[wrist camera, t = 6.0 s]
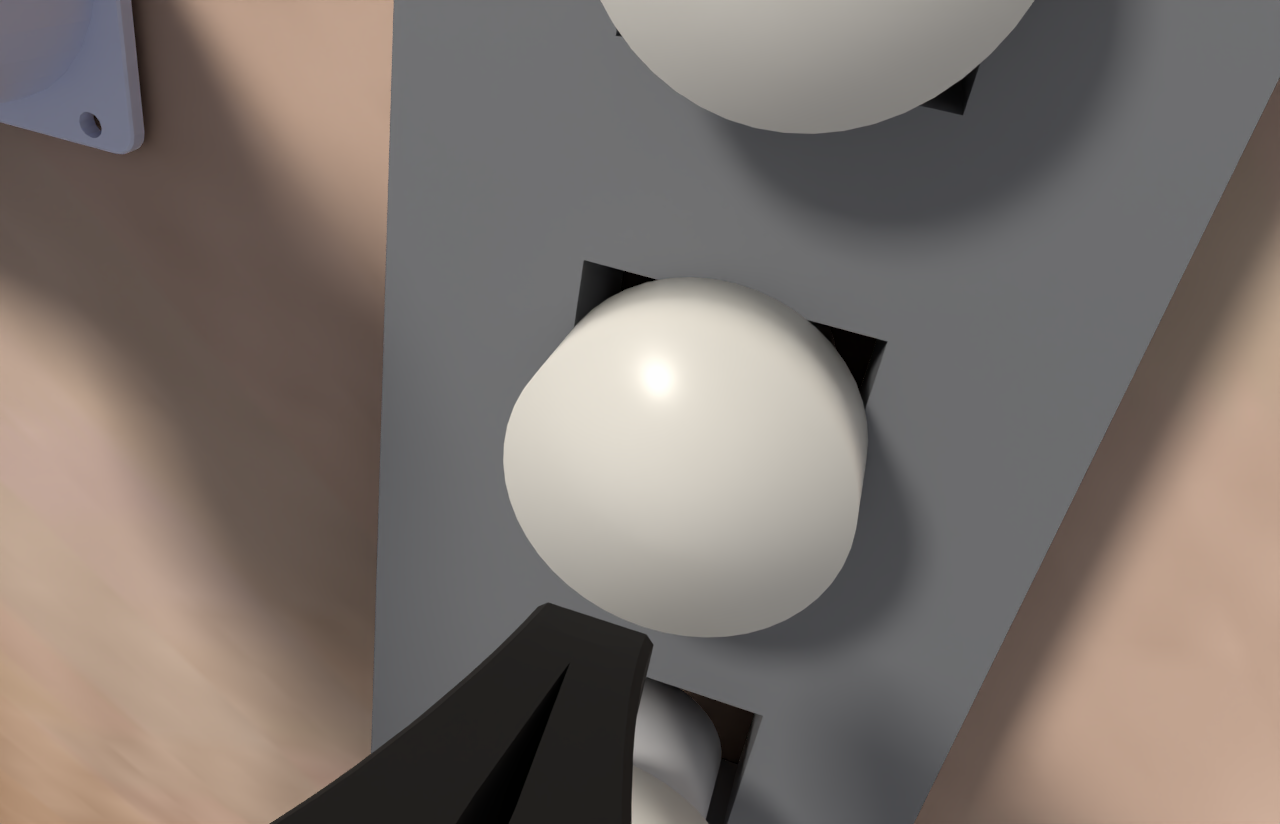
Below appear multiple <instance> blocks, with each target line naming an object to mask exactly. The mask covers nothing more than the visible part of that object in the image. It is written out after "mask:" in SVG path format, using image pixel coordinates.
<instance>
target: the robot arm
mask: <svg viewBox="0 0 1280 824" xmlns="http://www.w3.org/2000/svg"><path fill="white" fill-rule="evenodd" d="M94 115H95V116H96V118H97V119H98V120H99V121H100V124H101V127H102V130H100V129H99V128H98V127H97V126H96V124H95V121H94ZM0 122H1V123H4V124H8V125H12V126H15V127H19V128H23V129H26V130H30V131H34V132H37V133H41V134H45V135H48V136H52V137H56V138H59V139H63V140H67V141H71V142H74V143H78V144H82V145H85V146H89V147H93V148H96V149H100V150H104V151H107V152H111V153H115V154H126V153H129V152H132V151H134V150H136V149H138V148H140V147H141V145H142V143H143V142H144V133H145V132H144V123H143V113H142V103H141V93H140V83H139V73H138V63H137V53H136V43H135V33H134V23H133V13H132V4H131V0H0ZM653 646H654V645H653V643H652V642H651V640H650V639H649V637H648V636H647V634H644V633H641V632H638V631H635V630H632V629H629V628H626V627H622V626H619V625H616V624H613V623H610V622H607V621H604V620H601V619H598V618H595V617H592V616H589V615H586V614H582V613H579V612H576V611H573V610H570V609H567V608H564V607H561V606H558V605H555V604H552V603H549V602H548V603H545V604H543V605H540V606H538V607H537V608H536V609H535V610H534V611H533V612H532V613H531V615H530V616H529V617H528V618H527V619H526V620H525V621H524V622H523V623H522V624H521V625H520V626H519V627H518V628H517V629H516V630H515V631H514V632H513V633H512V634H511V635H510V636H509V637H508V638H507V639H506V640H505V641H504V642H503V643H502V644H501V645H500V646H499V647H498V648H497V649H496V650H495V651H494V652H493V653H492V654H490V655H489V656H488V657H487V658H486V659H485V660H484V661H483V662H482V663H481V664H480V665H478V666H477V667H476V668H475V669H474V670H473V671H472V672H471V673H470V674H469V675H468V676H466V677H465V678H464V679H463V680H462V681H461V682H459V683H458V684H457V685H456V686H455V687H454V688H452V689H451V690H450V691H449V692H448V693H447V694H445V695H444V696H443V697H442V698H441V699H439V700H438V701H437V702H436V703H435V704H434V705H432V706H431V707H430V708H429V709H428V710H427V711H425V712H424V713H423V714H422V715H421V716H419V717H418V718H417V719H416V720H414V721H413V722H412V723H411V724H409V725H408V726H407V727H406V728H404V729H403V730H402V731H400V732H399V733H398V734H396V735H395V736H394V737H393V738H391V739H390V740H389V741H387V742H386V743H385V744H383V745H382V746H381V747H379V748H378V749H377V750H375V751H374V752H373V753H372V754H370V755H369V756H368V757H366V758H365V759H364V760H362V761H361V762H360V763H358V764H357V765H356V766H354V767H353V768H352V769H350V770H349V771H347V772H346V773H345V774H343V775H342V776H340V777H339V778H338V779H336V780H335V781H333V782H332V783H330V784H329V785H328V786H326V787H325V788H323V789H322V790H320V791H319V792H317V793H316V794H314V795H313V796H311V797H310V798H308V799H307V800H305V801H304V802H302V803H301V804H299V805H298V806H296V807H295V808H293V809H292V810H290V811H288V812H287V813H285V814H284V815H282V816H281V817H279V818H278V819H276V820H275V821H273V822H271V823H270V824H632V777H633V751H634V738H635V728H636V719H637V714H638V710H639V705H640V701H641V697H642V693H643V688H644V684H645V680H646V676H647V671H648V667H649V663H650V659H651V654H652V650H653Z"/></svg>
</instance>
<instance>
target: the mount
mask: <svg viewBox="0 0 1280 824" xmlns="http://www.w3.org/2000/svg"><path fill="white" fill-rule="evenodd" d="M1279 78H1280V0H1034V2H1033V3H1032V5H1031V6H1030V7H1029V9H1028V10H1027V12H1026V13H1025V14H1024V16H1023V17H1022V18H1021V20H1020V21H1019V23H1018V24H1017V25H1016V27H1015V28H1014V29H1013V30H1012V31H1011V32H1010V33H1009V35H1008V36H1007V37H1006V38H1005V39H1004V40H1003V41H1002V42H1001V43H1000V44H999V45H998V47H997V48H996V49H995V50H994V51H993V52H992V53H991V54H990V55H989V56H988V57H987V58H986V59H985V60H983V61H982V62H981V63H980V64H979V65H978V66H976V67H975V68H974V69H973V70H972V71H971V72H970V73H968V74H967V75H966V76H965V77H964V78H963V79H961V80H960V81H958V82H957V83H955V84H954V85H952V86H951V87H949V88H948V89H946V90H945V91H943V92H942V93H940V94H939V95H938V96H936V97H935V98H933V99H931V100H929V101H927V102H925V103H923V104H921V105H919V106H917V107H915V108H913V109H911V110H909V111H907V112H906V113H903V114H900V115H898V116H895V117H892V118H889V119H887V120H884V121H881V122H879V123H876V124H872V125H868V126H864V127H859V128H855V129H850V130H846V131H838V132H828V133H818V134H802V133H782V132H776V131H770V130H764V129H758V128H753V127H750V126H747V125H744V124H741V123H737V122H734V121H731V120H728V119H725V118H723V117H721V116H719V115H717V114H714V113H712V112H710V111H708V110H706V109H704V108H702V107H700V106H698V105H697V104H695V103H693V102H692V101H690V100H689V99H687V98H686V97H684V96H682V95H681V94H679V93H678V92H676V91H675V90H674V89H672V88H671V87H670V86H669V85H668V84H666V83H665V82H664V81H663V80H662V79H660V78H659V77H658V76H657V75H656V74H654V73H653V72H652V71H651V70H650V69H649V68H648V67H647V65H646V64H645V63H644V62H643V61H642V60H641V59H640V58H639V57H638V56H637V55H636V54H635V52H634V51H633V50H632V49H631V48H630V46H629V45H628V44H627V42H626V41H625V39H624V38H623V37H622V35H621V34H620V33H619V31H618V30H617V28H616V27H615V26H614V24H613V22H612V20H611V19H610V17H609V15H608V13H607V11H606V10H605V8H604V6H603V4H602V2H601V1H600V0H394V13H393V46H392V79H391V112H390V146H389V179H388V212H387V245H386V279H385V312H384V345H383V378H382V412H381V445H380V478H379V511H378V545H377V578H376V611H375V644H374V678H373V711H372V744H371V754H372V753H373V752H374V751H375V750H377V749H378V748H379V747H381V746H382V745H383V744H385V743H386V742H387V741H389V740H390V739H391V738H393V737H394V736H395V735H396V734H398V733H399V732H400V731H402V730H403V729H404V728H406V727H407V726H408V725H409V724H411V723H412V722H413V721H414V720H416V719H417V718H418V717H419V716H421V715H422V714H423V713H424V712H425V711H427V710H428V709H429V708H430V707H431V706H432V705H434V704H435V703H436V702H437V701H438V700H439V699H441V698H442V697H443V696H444V695H445V694H447V693H448V692H449V691H450V690H451V689H452V688H454V687H455V686H456V685H457V684H458V683H459V682H461V681H462V680H463V679H464V678H465V677H466V676H468V675H469V674H470V673H471V672H472V671H473V670H474V669H475V668H476V667H477V666H478V665H480V664H481V663H482V662H483V661H484V660H485V659H486V658H487V657H488V656H489V655H490V654H492V653H493V652H494V651H495V650H496V649H497V648H498V647H499V646H500V645H501V644H502V643H503V642H504V641H505V640H506V639H507V638H508V637H509V636H510V635H511V634H512V633H513V632H514V631H515V630H516V629H517V628H518V627H519V626H520V625H521V624H522V623H523V622H524V621H525V620H526V619H527V618H528V617H529V616H530V615H531V613H532V612H533V611H534V610H535V609H536V608H537V607H538V606H540V605H543V604H545V603H548V602H549V603H552V604H555V605H558V606H561V607H564V608H567V609H570V610H573V611H576V612H579V613H582V614H586V615H589V616H592V617H595V618H598V619H601V620H604V621H607V622H610V623H613V624H616V625H619V626H622V627H626V628H629V629H632V630H635V631H638V632H641V633H644V634H647V636H648V637H649V639H650V640H651V642H652V643H653V645H654V646H653V650H652V654H651V659H650V663H649V667H648V671H647V676H646V677H648V678H651V679H654V680H657V681H660V682H663V683H666V684H669V685H672V686H675V687H678V688H681V689H684V690H687V691H690V692H693V693H696V694H699V695H702V696H705V697H708V698H711V699H714V700H717V701H720V702H723V703H726V704H729V705H732V706H735V707H738V708H741V709H744V710H747V711H750V712H753V713H754V716H753V719H752V722H751V726H750V729H749V732H748V735H747V738H746V741H745V744H744V747H743V750H742V753H741V756H740V759H739V762H738V764H735V763H732V762H729V761H726V760H723V759H721V762H720V767H719V771H718V775H717V778H716V782H715V786H714V790H713V794H712V797H711V801H710V805H709V809H708V813H707V816H706V821H707V822H708V823H709V824H914V822H915V820H916V818H917V816H918V814H919V812H920V810H921V808H922V806H923V804H924V802H925V800H926V798H927V796H928V793H929V791H930V789H931V787H932V785H933V783H934V781H935V779H936V777H937V775H938V773H939V771H940V769H941V767H942V765H943V763H944V761H945V759H946V757H947V755H948V753H949V751H950V749H951V747H952V745H953V743H954V740H955V738H956V736H957V734H958V732H959V730H960V728H961V726H962V724H963V722H964V720H965V718H966V716H967V714H968V712H969V710H970V708H971V706H972V704H973V702H974V700H975V698H976V696H977V694H978V692H979V690H980V687H981V685H982V683H983V681H984V679H985V677H986V675H987V673H988V671H989V669H990V667H991V665H992V663H993V661H994V659H995V657H996V655H997V653H998V651H999V649H1000V647H1001V645H1002V643H1003V641H1004V639H1005V637H1006V634H1007V632H1008V630H1009V628H1010V626H1011V624H1012V622H1013V620H1014V618H1015V616H1016V614H1017V612H1018V610H1019V608H1020V606H1021V604H1022V602H1023V600H1024V598H1025V596H1026V594H1027V592H1028V590H1029V588H1030V586H1031V584H1032V581H1033V579H1034V577H1035V575H1036V573H1037V571H1038V569H1039V567H1040V565H1041V563H1042V561H1043V559H1044V557H1045V555H1046V553H1047V551H1048V549H1049V547H1050V545H1051V543H1052V541H1053V539H1054V537H1055V535H1056V533H1057V530H1058V528H1059V526H1060V524H1061V522H1062V520H1063V518H1064V516H1065V514H1066V512H1067V510H1068V508H1069V506H1070V504H1071V502H1072V500H1073V498H1074V496H1075V494H1076V492H1077V490H1078V488H1079V486H1080V484H1081V482H1082V480H1083V477H1084V475H1085V473H1086V471H1087V469H1088V467H1089V465H1090V463H1091V461H1092V459H1093V457H1094V455H1095V453H1096V451H1097V449H1098V447H1099V445H1100V443H1101V441H1102V439H1103V437H1104V435H1105V433H1106V431H1107V429H1108V427H1109V424H1110V422H1111V420H1112V418H1113V416H1114V414H1115V412H1116V410H1117V408H1118V406H1119V404H1120V402H1121V400H1122V398H1123V396H1124V394H1125V392H1126V390H1127V388H1128V386H1129V384H1130V382H1131V380H1132V378H1133V376H1134V374H1135V371H1136V369H1137V367H1138V365H1139V363H1140V361H1141V359H1142V357H1143V355H1144V353H1145V351H1146V349H1147V347H1148V345H1149V343H1150V341H1151V339H1152V337H1153V335H1154V333H1155V331H1156V329H1157V327H1158V325H1159V323H1160V321H1161V318H1162V316H1163V314H1164V312H1165V310H1166V308H1167V306H1168V304H1169V302H1170V300H1171V298H1172V296H1173V294H1174V292H1175V290H1176V288H1177V286H1178V284H1179V282H1180V280H1181V278H1182V276H1183V274H1184V272H1185V270H1186V267H1187V265H1188V263H1189V261H1190V259H1191V257H1192V255H1193V253H1194V251H1195V249H1196V247H1197V245H1198V243H1199V241H1200V239H1201V237H1202V235H1203V233H1204V231H1205V229H1206V227H1207V225H1208V223H1209V221H1210V219H1211V217H1212V214H1213V212H1214V210H1215V208H1216V206H1217V204H1218V202H1219V200H1220V198H1221V196H1222V194H1223V192H1224V190H1225V188H1226V186H1227V184H1228V182H1229V180H1230V178H1231V176H1232V174H1233V172H1234V170H1235V168H1236V166H1237V164H1238V161H1239V159H1240V157H1241V155H1242V153H1243V151H1244V149H1245V147H1246V145H1247V143H1248V141H1249V139H1250V137H1251V135H1252V133H1253V131H1254V129H1255V127H1256V125H1257V123H1258V121H1259V119H1260V117H1261V115H1262V113H1263V111H1264V108H1265V106H1266V104H1267V102H1268V100H1269V98H1270V96H1271V94H1272V92H1273V90H1274V88H1275V86H1276V84H1277V82H1278V80H1279ZM624 271H627V272H631V273H634V274H638V275H642V276H646V277H649V278H653V279H657V280H662V279H667V278H684V277H695V278H708V279H716V280H721V281H726V282H731V283H736V284H739V285H742V286H745V287H748V288H751V289H754V290H757V291H759V292H761V293H763V294H766V295H768V296H770V297H772V298H774V299H776V300H778V301H780V302H782V303H783V304H785V305H786V306H788V307H790V308H791V309H793V310H794V311H796V312H797V313H799V314H800V315H801V316H803V317H804V318H805V319H806V320H809V321H813V322H817V323H821V324H824V325H828V326H832V327H836V328H839V329H843V330H847V331H850V332H854V333H858V334H862V335H865V336H869V337H873V338H876V341H875V345H874V348H873V351H872V354H871V357H870V360H869V363H868V366H867V369H866V372H865V375H864V378H863V381H862V385H861V388H860V391H859V392H860V395H861V398H862V400H863V404H864V409H865V414H866V419H867V428H868V449H867V459H866V466H865V473H864V480H863V486H862V493H861V500H860V506H859V513H858V520H857V526H856V531H855V535H854V539H853V543H852V546H851V550H850V552H849V554H848V556H847V558H846V561H845V563H844V565H843V567H842V569H841V570H840V572H839V573H838V575H837V576H836V578H835V579H834V581H833V582H832V584H831V585H830V586H829V587H828V588H827V589H826V590H825V591H824V592H823V593H822V594H821V596H820V597H819V598H817V599H816V600H815V601H814V602H812V603H811V604H810V605H809V606H808V607H806V608H805V609H804V610H802V611H801V612H799V613H797V614H795V615H794V616H792V617H790V618H789V619H787V620H785V621H783V622H780V623H778V624H776V625H773V626H771V627H768V628H765V629H762V630H758V631H755V632H751V633H747V634H741V635H734V636H728V637H691V636H681V635H675V634H669V633H664V632H660V631H656V630H653V629H649V628H645V627H642V626H639V625H637V624H634V623H631V622H629V621H626V620H624V619H621V618H619V617H617V616H615V615H613V614H611V613H609V612H607V611H605V610H603V609H602V608H600V607H598V606H597V605H595V604H594V603H592V602H590V601H589V600H587V599H585V598H584V597H583V596H581V595H580V594H579V593H578V592H576V591H575V590H574V589H572V588H571V587H570V586H568V585H567V584H566V583H565V582H564V581H563V580H562V579H561V578H560V577H559V576H558V575H557V574H556V573H554V572H553V571H552V569H551V568H550V567H549V566H548V565H547V564H546V563H545V561H544V560H543V559H542V558H541V557H540V556H539V554H538V553H537V552H536V550H535V549H534V547H533V546H532V544H531V543H530V541H529V540H528V538H527V537H526V535H525V533H524V531H523V529H522V528H521V526H520V524H519V522H518V520H517V518H516V515H515V512H514V510H513V507H512V505H511V502H510V499H509V495H508V491H507V487H506V483H505V474H504V465H503V455H504V440H505V435H506V430H507V424H508V422H509V419H510V416H511V413H512V410H513V408H514V405H515V404H516V402H517V400H518V398H519V396H520V394H521V393H522V391H523V389H524V388H525V387H526V385H527V384H528V383H529V381H530V380H531V379H532V378H533V376H534V375H535V374H536V372H537V371H538V370H539V369H540V368H541V366H542V365H543V364H544V363H545V362H546V360H547V359H548V358H549V357H550V356H551V355H552V353H553V352H554V351H555V350H556V349H557V347H558V346H559V345H560V344H561V343H562V341H563V340H564V339H565V338H566V337H567V335H568V334H569V333H570V332H571V331H572V329H573V328H574V327H575V326H576V325H577V323H578V322H579V321H580V320H581V319H582V318H584V317H585V316H586V315H587V314H588V313H589V312H590V311H591V310H592V309H593V308H595V307H596V306H598V305H599V304H601V303H602V302H603V301H605V300H606V299H608V298H609V297H611V296H613V295H615V294H617V293H620V291H621V285H622V279H623V273H624Z"/></svg>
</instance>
